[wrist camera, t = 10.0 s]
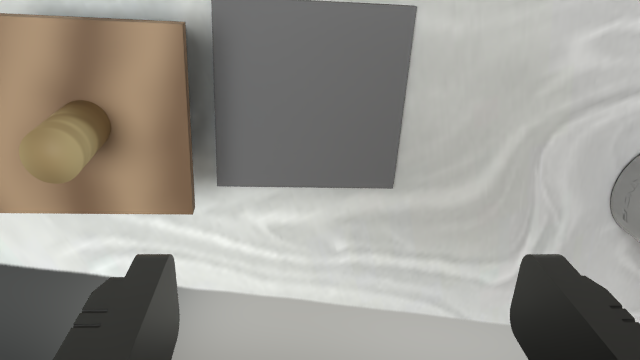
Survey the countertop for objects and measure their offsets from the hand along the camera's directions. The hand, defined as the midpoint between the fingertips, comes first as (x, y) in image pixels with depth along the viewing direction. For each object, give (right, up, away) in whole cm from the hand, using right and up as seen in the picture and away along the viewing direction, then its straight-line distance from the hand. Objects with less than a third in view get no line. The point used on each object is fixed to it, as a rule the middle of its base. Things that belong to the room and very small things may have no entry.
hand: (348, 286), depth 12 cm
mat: (-1, +8, +26) cm, 27 cm away
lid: (-15, +6, +19) cm, 25 cm away
